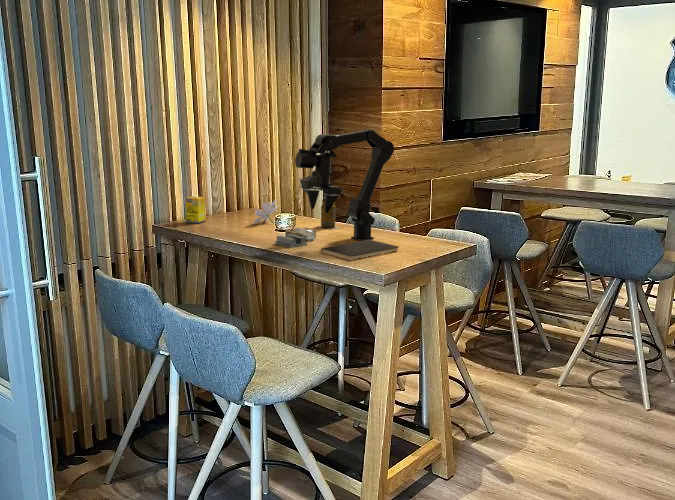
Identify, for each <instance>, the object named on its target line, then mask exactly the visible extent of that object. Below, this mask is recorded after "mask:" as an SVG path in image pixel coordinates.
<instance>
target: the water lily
mask: <svg viewBox="0 0 675 500" xmlns="http://www.w3.org/2000/svg"><path fill="white" fill-rule="evenodd" d="M276 201H277V198H274V200H273V201H272V202H271V201H268V202H267V203H265V202H262V209H263V210H262V209H255V212H254V214H255V216H257V218H255V219H253V222H252V224H253V225H255V224H258V223H260V222H262V221H264V222H266V221H268V220H269V221H271V224H273V225H275V223H274V221H273V219H272V218H271V215H272V214H273V213H274V212H276V211H277V209H278V207H279V205H276ZM275 205H276V206H275Z"/></svg>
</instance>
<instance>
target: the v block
mask: <svg viewBox="0 0 675 500" xmlns="http://www.w3.org/2000/svg"><path fill="white" fill-rule="evenodd" d="M274 244H275V245H279V246H282V247H285V248H289V249H292V248H297V247H303V245H304V246H307V245H308V243H307V242H306V240H305V238H304V237H301V236H297V235H293V234H287V237H285V236H284V235H277V236H276V240H275V241H274Z"/></svg>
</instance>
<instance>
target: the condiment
mask: <svg viewBox="0 0 675 500" xmlns="http://www.w3.org/2000/svg"><path fill="white" fill-rule="evenodd" d="M335 202H336V201H335ZM335 202H334V203H333V205H332V207H331V209H330V210H329V212H328V213H325V198H324V197H323V198H322V200H321V203H322V204H321V207H320V210H321V211H320V215H321V216H320V225H317V227H318V228H322V229H327V230H333V229H340V228H343V226H339V225H336V209H337V207H336V205H335V204H336V203H335Z"/></svg>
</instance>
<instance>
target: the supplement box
mask: <svg viewBox="0 0 675 500" xmlns="http://www.w3.org/2000/svg"><path fill="white" fill-rule="evenodd" d="M205 204H206V203H205V197H204V196H192V195H191V196H189V197H186V198H185V215H186V217H185V219H186V224H196V225H200V224H202V223H205V222H206V210H205V208H206V206H205Z"/></svg>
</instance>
